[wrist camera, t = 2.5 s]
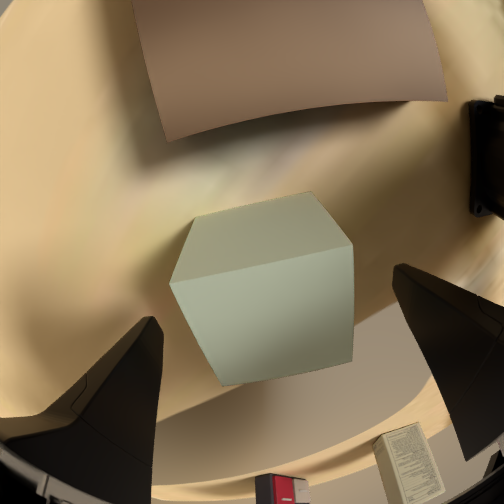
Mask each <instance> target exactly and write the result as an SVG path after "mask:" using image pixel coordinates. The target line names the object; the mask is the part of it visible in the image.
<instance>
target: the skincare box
mask: <svg viewBox="0 0 504 504" xmlns="http://www.w3.org/2000/svg"><path fill="white" fill-rule="evenodd" d="M372 448H373V451H374V455H375V458H376V461H377V465H378V468H379V471H380V475H381V479H382V482H383V486H384V489H385V492H386V496H387V500H388V504H422V503H424V502H426V501H428V500H430V499H432V498H434V497H436V496H438V495H440V494H442V493H443V492H445V488H444V485H443V482H442V480H441V476H440V474H439V471H438V468H437V465H436V463H435V460H434V458H433V455H432V452H431V450H430V447H429V445H428V442H427V440H426V437H425V435H424V433H423V430H422V428H421V425H420V423H419V422H417V423H415V424H412V425H409V426H406V427H404V428H401V429H398V430H394V431H391V432H389V433H386V434H382V435H381V436H380V437H379V439H378V440H377V441H376V442H375V443H374V444H373V445H372Z"/></svg>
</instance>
